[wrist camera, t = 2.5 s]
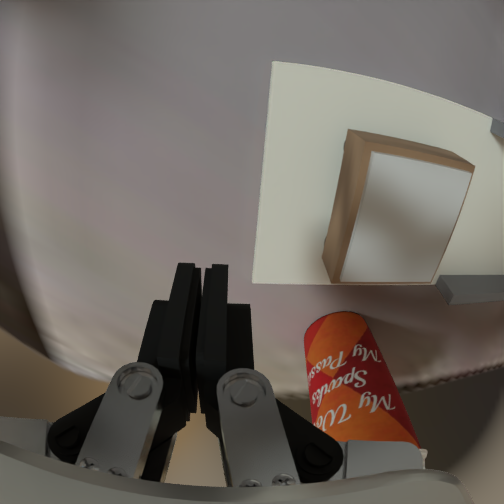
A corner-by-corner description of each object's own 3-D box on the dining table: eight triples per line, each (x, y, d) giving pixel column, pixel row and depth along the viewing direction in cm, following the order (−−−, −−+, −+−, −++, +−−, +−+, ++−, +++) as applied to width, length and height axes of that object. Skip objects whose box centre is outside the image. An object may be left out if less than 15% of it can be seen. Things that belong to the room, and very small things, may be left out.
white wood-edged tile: (341, 124, 15) (367, 143, 12) (442, 146, 16) (478, 168, 13) (318, 248, 20) (332, 287, 17) (409, 252, 20) (432, 286, 17)
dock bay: (272, 61, 14) (279, 60, 11) (561, 155, 16) (583, 169, 13) (251, 278, 22) (253, 309, 19) (512, 279, 24) (527, 297, 21)
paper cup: (354, 285, 23) (418, 463, 11) (389, 331, 26) (440, 470, 15) (271, 334, 25) (289, 504, 14) (318, 370, 29) (344, 505, 17)
